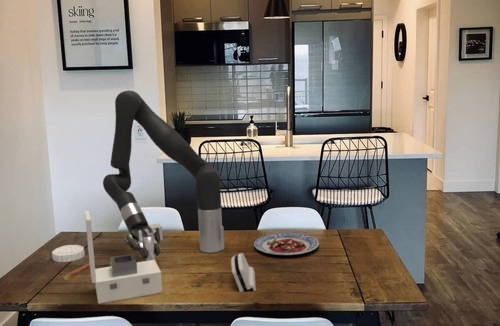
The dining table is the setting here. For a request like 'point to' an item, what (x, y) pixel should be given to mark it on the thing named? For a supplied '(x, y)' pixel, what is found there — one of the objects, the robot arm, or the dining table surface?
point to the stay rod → (149, 247)
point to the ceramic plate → (286, 243)
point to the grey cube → (154, 226)
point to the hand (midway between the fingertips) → (152, 256)
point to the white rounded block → (243, 272)
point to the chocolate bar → (77, 272)
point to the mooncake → (68, 253)
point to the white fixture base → (122, 277)
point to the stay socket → (123, 265)
